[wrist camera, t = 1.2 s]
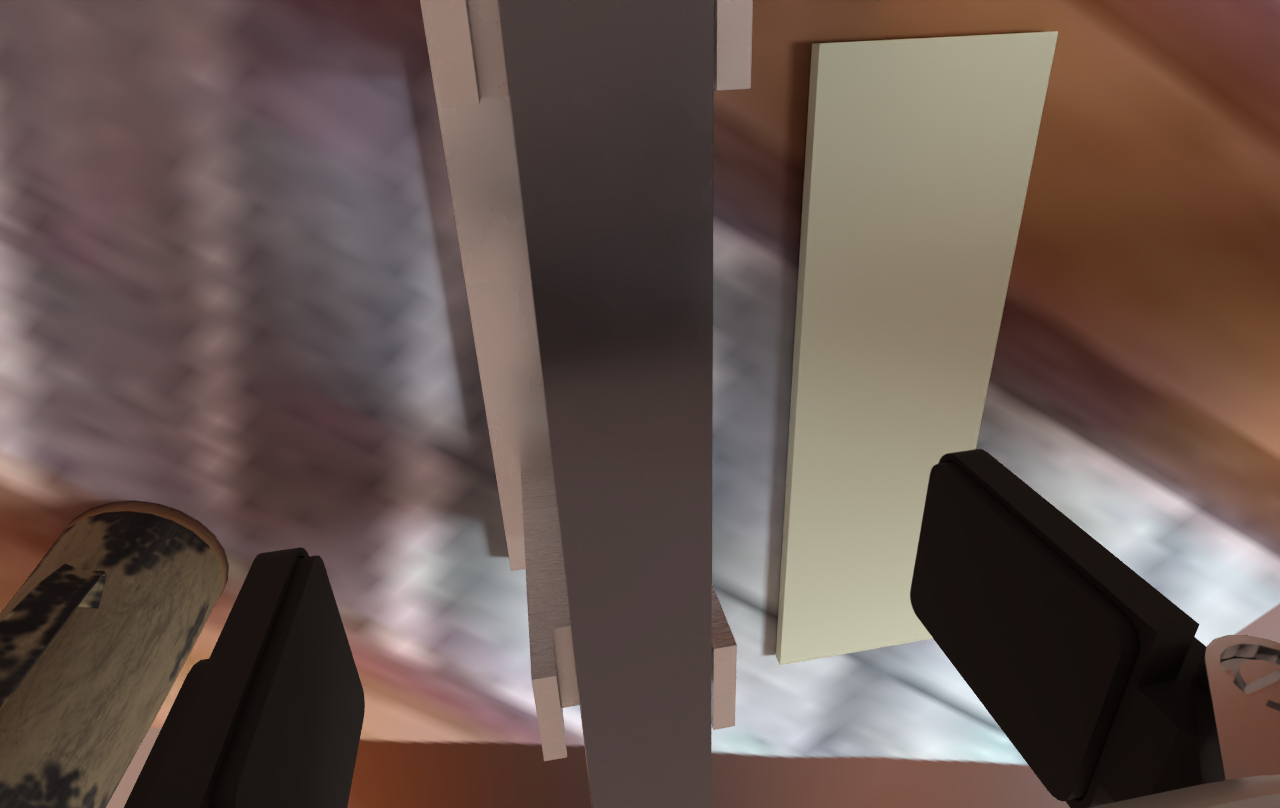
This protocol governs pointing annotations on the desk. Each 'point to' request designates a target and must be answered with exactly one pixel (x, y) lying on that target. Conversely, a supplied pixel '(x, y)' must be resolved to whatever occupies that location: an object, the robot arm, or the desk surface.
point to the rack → (531, 328)
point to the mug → (99, 649)
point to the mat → (895, 311)
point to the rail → (626, 365)
